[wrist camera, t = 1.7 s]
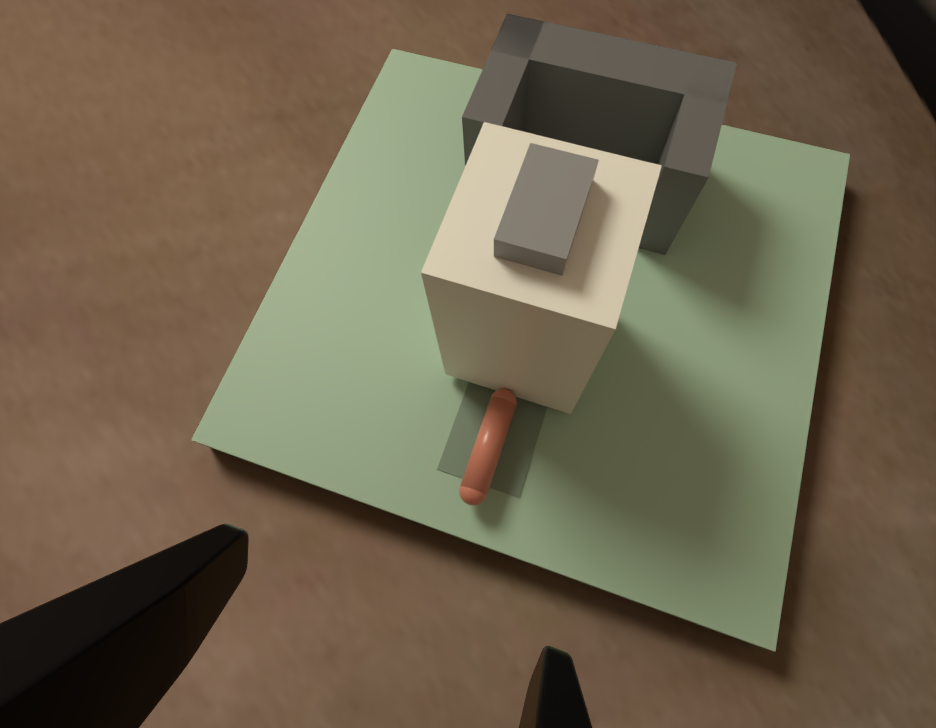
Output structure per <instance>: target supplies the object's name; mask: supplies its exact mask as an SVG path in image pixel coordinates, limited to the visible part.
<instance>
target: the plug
mask: <svg viewBox="0 0 936 728" xmlns="http://www.w3.org/2000/svg"><path fill="white" fill-rule="evenodd" d="M661 166H662V165H658V164H653V163H649V162H645V161H641V160H637V159H633V158H629V157H625V156H621V155H617V154H613V153H609V152H605V151H600V150H596V149H592V148H588V147H584V146H580V145H576V144H572V143H568V142H564V141H560V140H556V139H551V138H547V137H543V136H539V135H535V134H531V133H527V132H523V131H519V130H515V129H511V128H507V127H503V126H498V125H494V124H490V123H486V122H484V123H483V126H482V128H481V130H480V133H479V135H478V138H477V140H476V142H475V145H474V147H473V149H472V152H471V154H470V157H469V159H468V161H467V164H466V166H465V169H464V171H463V173H462V176H461V178H460V180H459V183H458V185H457V188H456V190H455V192H454V195H453V197H452V199H451V202H450V204H449V207H448V209H447V211H446V214H445V216H444V218H443V221H442V223H441V226H440V228H439V230H438V233H437V235H436V238H435V240H434V242H433V245H432V247H431V249H430V252H429V254H428V257H427V259H426V261H425V264H424V266H423V268H422V271H421V275H422V279H423V283H424V288H425V292H426V296H427V300H428V304H429V308H430V312H431V317H432V321H433V325H434V329H435V333H436V337H437V341H438V346H439V350H440V354H441V358H442V362H443V366H444V370H445V374H446V375H449V376H452V377H455V378H459V379H462V380H465V381H468V382H471V383H474V384H477V385H480V386H484V387H487V388H490V389H493V390H496V391H495V392H494V393H493V394H492V396H491V398H490V401H489V404H488V406H487V409H486V412H485V415H484V418H483V421H482V424H481V427H480V430H479V432H478V435H477V438H476V441H475V444H474V447H473V450H472V453H471V456H470V458H469V461H468V464H467V467H466V470H465V473H464V476H463V479H462V482H461V484H460V488H459V494H460V497H461V499H462V500H463V502H465V503H466V504H468V505H471V506H475V505H479V504H481V503H482V502H483V501H484V500H485V499H486V497H487V494H488V491H489V488H490V485H491V482H492V479H493V476H494V473H495V469H496V466H497V463H498V460H499V457H500V454H501V451H502V448H503V445H504V442H505V439H506V436H507V433H508V430H509V427H510V424H511V421H512V418H513V415H514V412H515V409H516V405H517V400H516V397H518V398H521V399H524V400H528V401H531V402H534V403H537V404H540V405H543V406H546V407H550V408H553V409H556V410H559V411H562V412H565V413H568V414H571V413H572V411H573V409H574V407H575V405H576V403H577V402H578V400H579V398H580V396H581V394H582V392H583V390H584V388H585V386H586V384H587V383H588V381H589V379H590V377H591V375H592V373H593V371H594V369H595V367H596V366H597V364H598V362H599V360H600V358H601V356H602V354H603V352H604V350H605V348H606V347H607V345H608V343H609V341H610V339H611V337H612V335H613V333H614V331H615V329H616V326H617V323H618V319H619V315H620V312H621V308H622V305H623V301H624V298H625V294H626V291H627V287H628V283H629V280H630V276H631V273H632V269H633V266H634V262H635V259H636V255H637V252H638V248H639V244H640V241H641V237H642V234H643V230H644V227H645V223H646V220H647V216H648V213H649V209H650V205H651V202H652V198H653V195H654V191H655V188H656V184H657V181H658V177H659V173H660V170H661Z"/></svg>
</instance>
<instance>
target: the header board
mask: <svg viewBox="0 0 936 728" xmlns="http://www.w3.org/2000/svg"><path fill="white" fill-rule="evenodd" d="M481 72H482V69H478V68H474V67H469V66H465V65H461V64H456V63H452V62H448V61H443V60H439V59H435V58H430V57H426V56H422V55H417V54H413V53H409V52H404V51H400V50H396V49H392V51H391V52H390V54H389V56H388V58H387V60H386V62H385V64H384V66H383V68H382V70H381V72H380V74H379V76H378V78H377V80H376V82H375V84H374V86H373V87H372V89H371V91H370V93H369V95H368V97H367V99H366V101H365V103H364V105H363V107H362V109H361V111H360V113H359V115H358V117H357V119H356V121H355V122H354V124H353V126H352V128H351V130H350V132H349V134H348V136H347V138H346V140H345V142H344V144H343V146H342V148H341V150H340V152H339V154H338V156H337V157H336V159H335V161H334V163H333V165H332V167H331V169H330V171H329V173H328V175H327V177H326V179H325V181H324V183H323V185H322V187H321V189H320V191H319V192H318V194H317V196H316V198H315V200H314V202H313V204H312V206H311V208H310V210H309V212H308V214H307V216H306V218H305V220H304V222H303V224H302V226H301V227H300V229H299V231H298V233H297V235H296V237H295V239H294V241H293V243H292V245H291V247H290V249H289V251H288V253H287V255H286V257H285V259H284V261H283V262H282V264H281V266H280V268H279V270H278V272H277V274H276V276H275V278H274V280H273V282H272V284H271V286H270V288H269V290H268V292H267V294H266V296H265V297H264V299H263V301H262V303H261V305H260V307H259V309H258V311H257V313H256V315H255V317H254V319H253V321H252V323H251V325H250V327H249V329H248V331H247V332H246V334H245V336H244V338H243V340H242V342H241V344H240V346H239V348H238V350H237V352H236V354H235V356H234V358H233V360H232V362H231V364H230V366H229V367H228V369H227V371H226V373H225V375H224V377H223V379H222V381H221V383H220V385H219V387H218V389H217V391H216V393H215V395H214V397H213V399H212V401H211V402H210V404H209V406H208V408H207V410H206V412H205V414H204V416H203V418H202V420H201V422H200V424H199V426H198V428H197V430H196V432H195V434H194V436H193V437H192V439H191V440H193V441H195V442H198V443H200V444H202V445H205V446H207V447H210V448H212V449H215V450H218V451H221V452H223V453H226V454H229V455H232V456H234V457H237V458H240V459H243V460H245V461H248V462H251V463H254V464H256V465H259V466H262V467H265V468H267V469H270V470H273V471H276V472H278V473H281V474H284V475H287V476H289V477H292V478H295V479H298V480H300V481H303V482H306V483H309V484H311V485H314V486H317V487H320V488H323V489H325V490H328V491H331V492H334V493H336V494H339V495H342V496H345V497H347V498H350V499H353V500H356V501H358V502H361V503H364V504H367V505H369V506H372V507H375V508H378V509H380V510H383V511H386V512H389V513H391V514H394V515H397V516H400V517H402V518H405V519H408V520H411V521H413V522H416V523H419V524H422V525H424V526H427V527H430V528H433V529H435V530H438V531H441V532H444V533H446V534H449V535H452V536H455V537H458V538H460V539H463V540H466V541H469V542H471V543H474V544H477V545H480V546H482V547H485V548H488V549H491V550H493V551H496V552H499V553H502V554H504V555H507V556H510V557H513V558H515V559H518V560H521V561H524V562H526V563H529V564H532V565H535V566H537V567H540V568H543V569H546V570H548V571H551V572H554V573H557V574H559V575H562V576H565V577H568V578H570V579H573V580H576V581H579V582H581V583H584V584H587V585H590V586H593V587H595V588H598V589H601V590H604V591H606V592H609V593H612V594H615V595H617V596H620V597H623V598H626V599H628V600H631V601H634V602H637V603H639V604H642V605H645V606H648V607H650V608H653V609H656V610H659V611H661V612H664V613H667V614H670V615H672V616H675V617H678V618H681V619H683V620H686V621H689V622H692V623H694V624H697V625H700V626H703V627H705V628H708V629H711V630H714V631H716V632H719V633H722V634H725V635H728V636H730V637H733V638H736V639H739V640H741V641H744V642H747V643H750V644H752V645H755V646H758V647H762V648H765V649H768V650H771V651H776V644H777V637H778V631H779V624H780V617H781V611H782V604H783V597H784V591H785V584H786V577H787V571H788V564H789V557H790V551H791V544H792V537H793V531H794V524H795V517H796V511H797V504H798V497H799V491H800V484H801V477H802V471H803V464H804V457H805V451H806V444H807V437H808V431H809V424H810V417H811V411H812V404H813V397H814V391H815V384H816V377H817V371H818V364H819V357H820V351H821V344H822V337H823V331H824V324H825V317H826V311H827V304H828V297H829V291H830V284H831V277H832V271H833V264H834V257H835V251H836V244H837V238H838V231H839V224H840V218H841V211H842V204H843V198H844V191H845V184H846V178H847V171H848V164H849V158H850V154H846V153H842V152H838V151H833V150H829V149H825V148H820V147H816V146H812V145H807V144H803V143H799V142H794V141H790V140H786V139H781V138H777V137H773V136H768V135H764V134H760V133H755V132H751V131H747V130H742V129H738V128H734V127H729V126H725V125H722V126H721V130H720V134H719V138H718V142H717V146H716V150H715V154H714V158H713V162H712V166H711V170H710V174H709V178H708V180H707V181H706V183H705V185H704V187H703V189H702V190H701V192H700V194H699V196H698V198H697V199H696V201H695V203H694V205H693V206H692V208H691V210H690V212H689V214H688V215H687V217H686V219H685V221H684V222H683V224H682V226H681V228H680V230H679V231H678V233H677V235H676V237H675V239H674V240H673V242H672V244H671V246H670V247H669V249H668V251H667V253H666V255H662V254H659V253H655V252H651V251H647V250H644V249H640V248H638V252H637V255H636V259H635V262H634V266H633V269H632V273H631V276H630V280H629V283H628V287H627V291H626V294H625V298H624V301H623V305H622V308H621V312H620V315H619V319H618V323H617V326H616V329H615V331H614V333H613V335H612V337H611V339H610V341H609V343H608V345H607V347H606V348H605V350H604V352H603V354H602V356H601V358H600V360H599V362H598V364H597V366H596V367H595V369H594V371H593V373H592V375H591V377H590V379H589V381H588V383H587V384H586V386H585V388H584V390H583V392H582V394H581V396H580V398H579V400H578V402H577V403H576V405H575V407H574V409H573V411H572V413H571V414H568V413H565V412H562V411H559V410H556V409H553V408H550V407H546V406H543V405H540V404H537V403H534V402H531V401H528V400H524V399H521V398H518V397H516V400H517V405H516V409H515V412H514V415H513V418H512V421H511V424H510V427H509V430H508V433H507V436H506V439H505V442H504V445H503V448H502V451H501V454H500V457H499V460H498V463H497V466H496V469H495V473H494V476H493V479H492V482H491V485H490V488H489V491H488V494H487V497H486V499H485V500H484V501H483V502H482V503H481V504H479V505H475V506H471V505H468V504H466V503H465V502H463V500H462V499H461V497H460V494H459V488H460V484H461V482H462V479H463V476H464V473H465V470H466V467H467V464H468V461H469V458H470V456H471V453H472V450H473V447H474V444H475V441H476V438H477V435H478V432H479V430H480V427H481V424H482V421H483V418H484V415H485V412H486V409H487V406H488V404H489V401H490V398H491V396H492V394H493V393H494V392H495V391H496V390H493V389H490V388H487V387H484V386H480V385H477V384H474V383H471V382H468V381H465V380H462V379H459V378H455V377H452V376H449V375H446V374H445V370H444V366H443V362H442V358H441V354H440V350H439V346H438V341H437V337H436V333H435V329H434V325H433V321H432V317H431V312H430V308H429V304H428V300H427V296H426V292H425V288H424V283H423V279H422V275H421V271H422V268H423V266H424V264H425V261H426V259H427V257H428V254H429V252H430V249H431V247H432V245H433V242H434V240H435V238H436V235H437V233H438V230H439V228H440V226H441V223H442V221H443V218H444V216H445V214H446V211H447V209H448V207H449V204H450V202H451V199H452V197H453V195H454V192H455V190H456V188H457V185H458V183H459V180H460V178H461V176H462V173H463V171H464V169H465V158H464V143H463V127H462V115H463V113H464V111H465V108H466V106H467V104H468V102H469V99H470V97H471V95H472V92H473V90H474V88H475V86H476V83H477V81H478V79H479V76H480V74H481Z"/></svg>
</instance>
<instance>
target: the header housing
mask: <svg viewBox="0 0 936 728" xmlns="http://www.w3.org/2000/svg"><path fill="white" fill-rule="evenodd" d="M736 65H737V63H736V62H731V61H726V60H722V59H717V58H712V57H708V56H703V55H698V54H694V53H689V52H684V51H680V50H675V49H670V48H666V47H661V46H656V45H651V44H647V43H642V42H637V41H633V40H628V39H623V38H619V37H614V36H609V35H605V34H600V33H595V32H591V31H586V30H581V29H577V28H572V27H567V26H563V25H558V24H553V23H549V22H544V21H539V20H535V19H530V18H525V17H520V16H516V15H511V14H507V15H506V17H505V19H504V22H503V24H502V26H501V29H500V31H499V33H498V35H497V38H496V40H495V42H494V45H493V47H492V49H491V51H490V54H489V56H488V58H487V61H486V63H485V65H484V67H483V70H482V72H481V74H480V76H479V79H478V81H477V83H476V86H475V88H474V90H473V92H472V95H471V97H470V99H469V102H468V104H467V106H466V108H465V111H464V113H463V115H462V127H463V143H464V158H465V166H466V164H467V161H468V159H469V157H470V154H471V152H472V149H473V147H474V145H475V142H476V140H477V138H478V135H479V133H480V130H481V128H482V126H483V123H484V122H486V123H490V124H494V125H498V126H503V127H507V128H511V129H515V130H519V131H523V132H527V133H531V134H535V135H539V136H543V137H547V138H551V139H556V140H560V141H564V142H568V143H572V144H576V145H580V146H584V147H588V148H592V149H596V150H600V151H605V152H609V153H613V154H617V155H621V156H625V157H629V158H633V159H637V160H641V161H645V162H649V163H653V164H658V165H662V166H661V170H660V173H659V177H658V181H657V184H656V188H655V191H654V195H653V198H652V202H651V205H650V209H649V213H648V216H647V220H646V223H645V227H644V230H643V234H642V237H641V241H640V244H639V248H640V249H644V250H647V251H651V252H655V253H659V254H662V255H666V253H667V251H668V249H669V247H670V246H671V244H672V242H673V240H674V239H675V237H676V235H677V233H678V231H679V230H680V228H681V226H682V224H683V222H684V221H685V219H686V217H687V215H688V214H689V212H690V210H691V208H692V206H693V205H694V203H695V201H696V199H697V198H698V196H699V194H700V192H701V190H702V189H703V187H704V185H705V183H706V181H707V180H708V178H709V174H710V170H711V166H712V162H713V158H714V154H715V150H716V146H717V142H718V138H719V134H720V130H721V126H722V122H723V118H724V114H725V110H726V105H727V101H728V97H729V93H730V89H731V85H732V81H733V77H734V73H735V69H736Z"/></svg>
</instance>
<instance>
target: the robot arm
mask: <svg viewBox="0 0 936 728" xmlns="http://www.w3.org/2000/svg"><path fill="white" fill-rule="evenodd" d="M247 564H248V533H247V531H245V530H244V529H241V528H238V527H236V526H233V525H231V524H221V525H219V526H216V527H214V528H212V529H210V530H207V531H205V532H203V533H201V534H199V535H196V536H194V537H192V538H190V539H187V540H185V541H183V542H181V543H178V544H176V545H174V546H172V547H170V548H167V549H165V550H163V551H161V552H158V553H156V554H154V555H152V556H149V557H147V558H145V559H143V560H140V561H138V562H136V563H134V564H132V565H129V566H127V567H125V568H123V569H120V570H118V571H116V572H114V573H111V574H109V575H107V576H105V577H103V578H100V579H98V580H96V581H94V582H91V583H89V584H87V585H85V586H82V587H80V588H78V589H76V590H73V591H71V592H69V593H67V594H65V595H62V596H60V597H58V598H56V599H53V600H51V601H49V602H47V603H44V604H42V605H40V606H38V607H36V608H33V609H31V610H29V611H27V612H24V613H22V614H20V615H18V616H15V617H13V618H11V619H9V620H7V621H4V622H2V623H0V728H139V727H140V726H141V724H142V723H143V722H144V721H145V719H146V718H147V717H148V715H149V714H150V713H151V712H152V710H153V709H154V708H155V706H156V705H157V704H158V703H159V701H160V700H161V699H162V697H163V696H164V695H165V694H166V692H167V691H168V690H169V688H170V687H171V686H172V685H173V683H174V682H175V681H176V679H177V678H178V677H179V675H180V674H181V673H182V671H183V670H184V669H185V667H186V666H187V665H188V663H189V662H190V660H191V659H192V657H193V656H194V654H195V653H196V651H197V650H198V648H199V647H200V645H201V644H202V642H203V640H204V639H205V637H206V636H207V634H208V632H209V631H210V629H211V628H212V626H213V625H214V623H215V621H216V620H217V618H218V617H219V615H220V614H221V612H222V610H223V609H224V607H225V606H226V604H227V603H228V601H229V599H230V598H231V596H232V595H233V593H234V591H235V590H236V588H237V587H238V585H239V584H240V582H241V580H242V579H243V577H244V575H245V572H246V569H247ZM519 728H592V725H591V722H590V718H589V715H588V711H587V708H586V705H585V701H584V698H583V694H582V691H581V687H580V684H579V681H578V677H577V674H576V670H575V667H574V663H573V660H572V658H571V656H570V655H569V654H568V653H566V652H564V651H561V650H559V649H556V648H553V647H551V646H545V647H544V648H543V650H542V652H541V655H540V657H539V660H538V662H537V665H536V667H535V669H534V672H533V674H532V677H531V680H530V683H529V686H528V690H527V694H526V698H525V703H524V707H523V712H522V716H521V720H520V725H519Z"/></svg>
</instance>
